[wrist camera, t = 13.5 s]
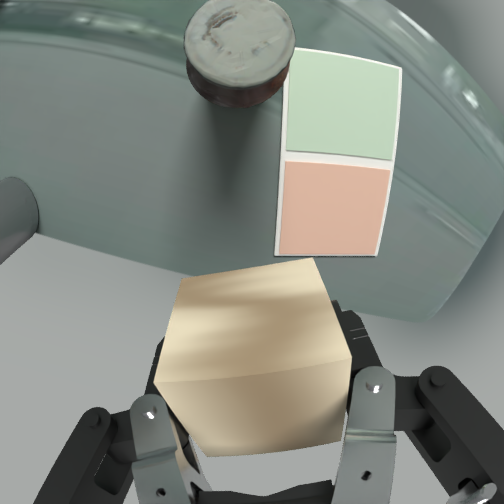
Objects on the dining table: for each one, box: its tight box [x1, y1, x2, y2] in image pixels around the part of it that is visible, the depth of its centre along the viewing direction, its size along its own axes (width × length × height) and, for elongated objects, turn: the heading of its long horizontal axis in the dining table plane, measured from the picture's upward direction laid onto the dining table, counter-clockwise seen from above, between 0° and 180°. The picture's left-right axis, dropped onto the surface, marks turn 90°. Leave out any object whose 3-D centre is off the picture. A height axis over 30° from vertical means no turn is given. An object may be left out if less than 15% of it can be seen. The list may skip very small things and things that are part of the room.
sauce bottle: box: [184, 0, 296, 108], centre depth 17 cm, size 7×6×20 cm
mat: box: [274, 48, 402, 256], centre depth 30 cm, size 13×23×1 cm, turn 178°
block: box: [153, 258, 352, 457], centre depth 10 cm, size 5×5×5 cm
